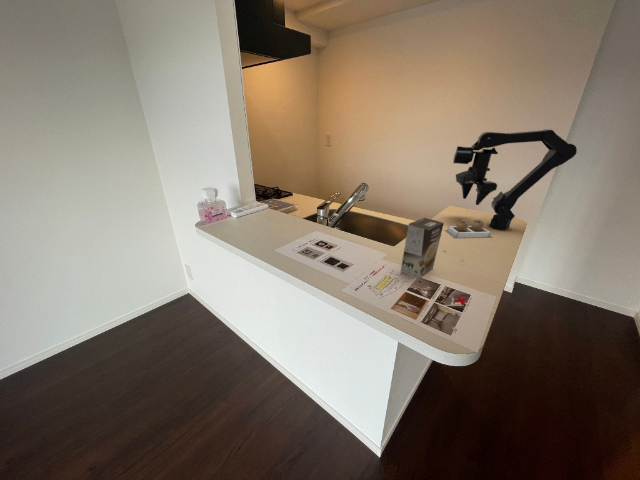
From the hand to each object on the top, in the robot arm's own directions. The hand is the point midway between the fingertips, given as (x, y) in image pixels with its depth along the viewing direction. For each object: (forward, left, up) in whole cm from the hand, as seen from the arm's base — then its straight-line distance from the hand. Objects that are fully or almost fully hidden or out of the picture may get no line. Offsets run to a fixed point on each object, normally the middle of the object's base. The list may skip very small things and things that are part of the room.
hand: (470, 201), depth 112 cm
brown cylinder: (+9, +12, -10) cm, 18 cm away
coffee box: (+38, +37, -11) cm, 54 cm away
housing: (+6, +12, -11) cm, 17 cm away
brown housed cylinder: (+3, +12, -10) cm, 16 cm away
